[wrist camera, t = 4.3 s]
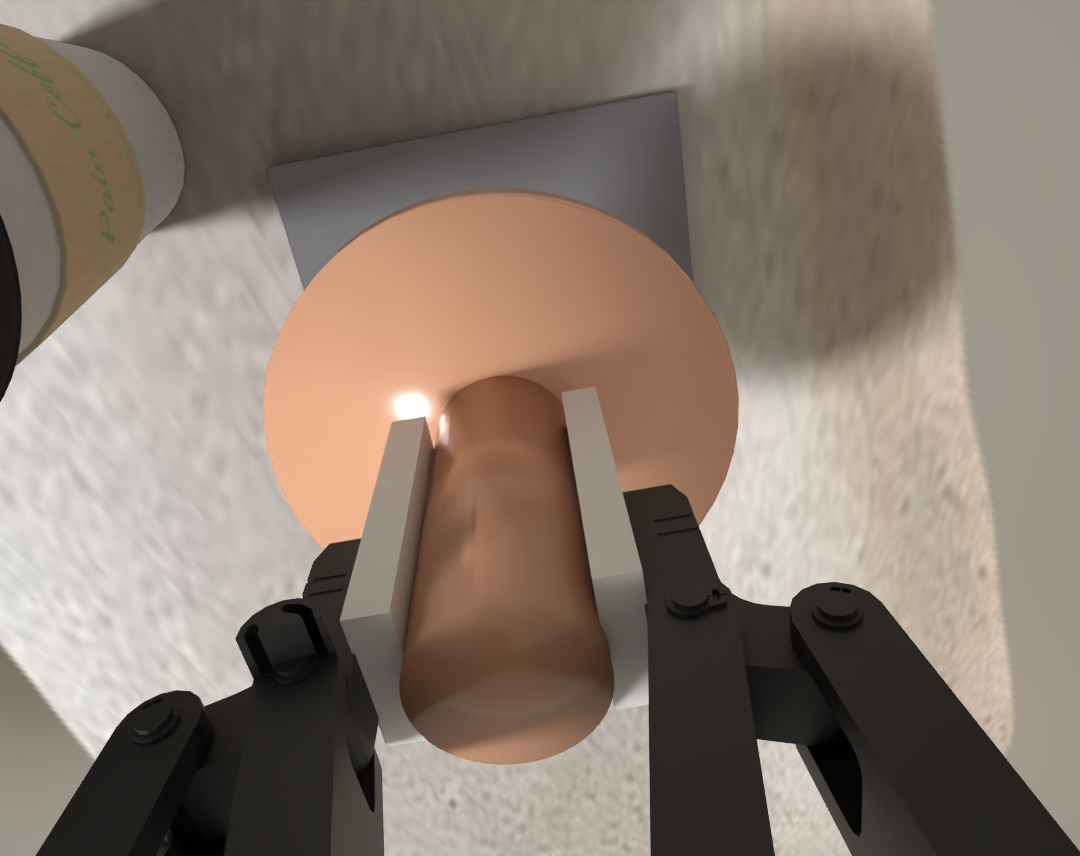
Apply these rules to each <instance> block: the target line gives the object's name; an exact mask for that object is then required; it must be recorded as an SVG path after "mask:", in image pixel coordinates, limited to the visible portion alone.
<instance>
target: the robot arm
mask: <svg viewBox="0 0 1080 856" xmlns="http://www.w3.org/2000/svg"><path fill="white" fill-rule="evenodd" d="M561 393H562V399H563V405H564V411H565V418H566V424H567V430H568V436H569V442H570V448H571V454H572V460H573V467H574V473H575V479H576V485H577V491H578V497H579V503H580V509H581V516H582V522H583V528H584V534H585V540H586V546H587V552H588V558H589V565H590V571H591V577H592V583H593V588H594V594H595V600H596V605H597V611H598V617H599V622H600V625H601V627H602V628H603V631H604V633H605V635H606V637H607V641H608V645H609V649H610V655H611V661H612V667H613V672H614V693H613V702H614V707H615V710H617V709H623V708H629V707H636V706H642V705H648V704H649V762H650V833H651V856H775V854H774V847H773V841H772V835H771V828H770V822H769V815H768V809H767V803H766V796H765V790H764V784H763V777H762V771H761V764H760V758H759V752H758V745H757V739H761V740H768V741H776V742H784V743H792V744H796V748H797V750H798V752H799V754H800V756H801V758H802V759H803V761H804V763H805V765H806V767H807V769H808V771H809V773H810V775H811V777H812V779H813V781H814V783H815V785H816V787H817V789H818V790H819V792H820V794H821V796H822V798H823V800H824V802H825V804H826V806H827V808H828V810H829V812H830V814H831V816H832V818H833V820H834V821H835V823H836V825H837V827H838V829H839V831H840V833H841V835H842V837H843V839H844V841H845V843H846V845H847V847H848V849H849V851H850V852H851V854H852V856H1080V851H1079V850H1078V849H1077V847H1076V846H1075V845H1074V844H1073V842H1072V841H1071V840H1070V839H1069V837H1068V836H1067V835H1066V834H1065V832H1064V831H1063V830H1062V829H1061V827H1060V826H1059V825H1058V824H1057V822H1056V821H1055V820H1054V819H1053V817H1052V816H1051V815H1050V814H1049V812H1048V811H1047V810H1046V809H1045V807H1044V806H1043V805H1042V803H1041V802H1040V801H1039V800H1038V798H1037V797H1036V796H1035V795H1034V794H1033V792H1032V791H1031V790H1030V789H1029V787H1028V786H1027V785H1026V783H1025V782H1024V781H1023V780H1022V778H1021V777H1020V776H1019V775H1018V773H1017V772H1016V771H1015V770H1014V769H1013V767H1012V766H1011V765H1010V763H1009V762H1008V761H1007V759H1006V758H1005V757H1004V756H1003V754H1002V753H1001V752H1000V751H999V749H998V748H997V747H996V746H995V744H994V743H993V742H992V741H991V739H990V738H989V737H988V736H987V734H986V733H985V732H984V731H983V729H982V728H981V727H980V726H979V724H978V723H977V722H976V720H975V719H974V718H973V717H972V715H971V714H970V713H969V712H968V710H967V709H966V708H965V707H964V705H963V704H962V703H961V702H960V700H959V699H958V698H957V697H956V695H955V694H954V693H953V692H952V690H951V689H950V688H949V687H948V685H947V684H946V683H945V681H944V680H943V679H942V678H941V676H940V675H939V674H938V673H937V671H936V670H935V669H934V668H933V666H932V665H931V664H930V663H929V661H928V660H927V659H926V658H925V656H924V655H923V654H922V653H921V651H920V650H919V649H918V648H917V646H916V645H915V644H914V643H913V641H912V640H911V639H910V637H909V636H908V635H907V634H906V632H905V631H904V630H903V629H902V627H901V626H900V625H899V624H898V622H897V621H896V620H895V619H894V617H893V616H892V615H891V614H890V612H889V611H888V610H887V609H886V607H885V606H884V605H883V604H882V602H881V601H879V600H878V599H877V598H876V597H875V596H874V595H872V594H871V593H870V592H869V591H866V590H864V589H861V588H859V587H857V586H854V585H850V584H844V583H837V582H830V583H819V584H815V585H812V586H810V587H807V588H805V589H802V590H801V591H800V592H799V593H798V594H797V595H796V596H795V597H794V598H793V599H792V602H791V606H790V607H785V606H771V605H763V604H756V603H752V602H749V601H746V600H743V599H741V598H739V597H737V596H735V595H733V594H732V593H731V591H730V589H729V588H728V587H726V586H725V585H724V584H722V583H721V581H720V579H719V577H718V575H717V572H716V570H715V567H714V564H713V562H712V559H711V557H710V554H709V552H708V549H707V546H706V544H705V541H704V539H703V536H702V534H701V531H700V530H699V526H698V523H697V521H696V518H695V517H694V513H693V510H692V508H691V505H690V503H689V500H688V498H687V496H686V495H684V494H683V493H682V492H680V491H679V490H678V489H676V488H675V487H674V486H673V485H671V484H668V485H662V486H656V487H650V488H644V489H639V490H633V491H627V492H622V489H621V485H620V481H619V477H618V473H617V469H616V465H615V461H614V457H613V454H612V450H611V446H610V442H609V438H608V434H607V430H606V426H605V422H604V419H603V415H602V411H601V407H600V403H599V399H598V395H597V391H596V387H589V388H583V389H578V390H572V391H566V392H561ZM433 454H434V447H433V443H432V440H431V436H430V432H429V428H428V425H427V421H426V417H425V416H423V417H417V418H411V419H406V420H400V421H394V422H392V423H391V427H390V431H389V435H388V439H387V442H386V446H385V450H384V454H383V458H382V461H381V465H380V469H379V473H378V477H377V480H376V484H375V488H374V492H373V496H372V500H371V503H370V507H369V511H368V515H367V519H366V522H365V526H364V530H363V534H362V538H360V539H354V540H348V541H342V542H336V543H330V544H329V545H328V546H327V547H326V548H325V549H324V550H323V552H322V553H321V554H320V555H319V556H318V557H317V558H316V559H315V561H314V562H313V565H312V568H311V571H310V574H309V577H308V583H307V584H306V586H305V589H304V592H303V594H302V595H303V598H302V599H300V598H297V599H289V600H283V601H280V602H277V603H275V604H272V605H270V606H267V607H265V608H264V609H262V610H261V611H259V612H257V613H256V614H254V615H253V616H251V617H250V619H249V620H248V621H247V622H246V623H245V624H244V625H243V626H242V627H241V628H240V630H239V632H238V635H237V637H236V641H237V644H238V646H239V648H240V650H241V652H242V654H243V657H244V659H245V661H246V663H247V665H248V668H249V670H250V672H251V674H252V676H253V678H254V680H253V685H252V686H251V687H249V688H247V689H245V690H243V691H241V692H239V693H237V694H234V695H232V696H230V697H227V698H225V699H222V700H220V701H217V702H215V703H212V704H210V705H207V706H205V707H204V705H203V703H202V702H201V700H200V698H199V697H198V696H197V695H195V694H194V693H192V692H190V691H178V690H176V691H172V692H168V693H163V694H160V695H158V696H156V697H153V698H151V699H149V700H147V701H145V702H143V703H142V704H140V705H139V706H138V707H137V708H135V709H134V710H133V711H131V712H130V713H129V714H127V716H126V717H125V718H124V719H123V720H122V721H121V723H120V724H119V725H118V726H117V727H116V729H115V730H114V732H113V734H112V735H111V737H110V738H109V740H108V742H107V743H106V745H105V746H104V748H103V750H102V751H101V753H100V754H99V756H98V757H97V759H96V761H95V762H94V764H93V765H92V767H91V769H90V770H89V772H88V773H87V775H86V777H85V778H84V780H83V781H82V783H81V784H80V786H79V788H78V789H77V791H76V793H75V794H74V796H73V797H72V799H71V801H70V802H69V804H68V805H67V807H66V809H65V810H64V812H63V813H62V815H61V816H60V818H59V820H58V821H57V823H56V824H55V826H54V828H53V829H52V831H51V832H50V834H49V836H48V837H47V839H46V840H45V842H44V844H43V845H42V846H41V848H40V850H39V852H38V853H37V854H36V856H384V832H383V796H382V769H381V765H380V762H379V758H378V756H377V753H376V751H375V748H374V745H375V739H376V733H377V727H378V725H379V727H380V730H381V733H382V735H383V738H384V741H385V743H386V746H390V745H396V744H403V743H409V742H415V741H421V740H426V739H425V738H424V737H423V736H422V735H421V734H420V733H419V732H418V731H417V730H416V729H415V728H414V727H413V725H412V724H411V722H410V721H409V719H408V718H407V716H406V714H405V712H404V709H403V707H402V703H401V699H400V692H399V682H400V674H401V667H402V660H403V654H404V647H405V640H406V634H407V627H408V620H409V614H410V607H411V600H412V594H413V587H414V581H415V574H416V567H417V561H418V554H419V547H420V541H421V534H422V527H423V521H424V514H425V507H426V501H427V494H428V487H429V481H430V474H431V467H432V461H433Z"/></svg>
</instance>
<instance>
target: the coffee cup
mask: <svg viewBox="0 0 1080 856" xmlns="http://www.w3.org/2000/svg"><path fill="white" fill-rule="evenodd" d="M184 175H185V164H184V157H183V149H182V146H181V143H180V140H179V137H178V134H177V131H176V128H175V126H174V124H173V122H172V120H171V118H170V116H169V114H168V112H167V111H166V109H165V108H164V106H163V105H162V103H161V102H160V100H159V99H158V97H157V96H156V94H155V93H154V92H153V91H152V90H151V89H150V88H149V86H148V85H147V84H146V83H145V82H144V81H143V80H142V79H141V78H140V77H139V76H138V75H137V74H136V73H134V72H133V71H132V70H131V69H129V68H128V67H127V66H126V65H124V64H123V63H122V62H120V61H118V60H116V59H114V58H112V57H111V56H109V55H107V54H105V53H103V52H99V51H96V50H92V49H89V48H85V47H82V46H77V45H72V44H68V43H63V42H58V41H53V40H49V39H44V38H39V37H34V36H32V35H30V34H28V33H26V32H24V31H22V30H20V29H17V28H14V27H10V26H7V25H3V24H0V402H1V400H2V398H3V397H4V395H5V392H6V390H7V388H8V385H9V383H10V381H11V378H12V375H13V372H14V368H15V366H16V365H18V364H19V363H20V362H21V361H22V360H23V359H25V358H26V357H27V356H28V355H29V354H30V353H31V352H32V351H33V350H35V349H36V348H37V347H38V346H39V345H40V344H41V343H42V342H43V341H44V340H46V339H47V338H48V337H49V336H50V335H51V334H52V333H53V332H54V331H55V330H56V329H57V328H58V327H59V326H60V325H61V324H62V323H63V322H64V321H66V320H67V319H68V318H69V317H70V316H71V315H72V314H73V313H74V312H75V311H76V310H77V309H78V308H79V307H80V306H81V305H82V304H83V303H85V302H86V301H87V300H88V299H89V298H90V297H91V296H92V295H93V294H94V293H95V292H96V291H97V290H98V289H99V288H100V287H101V286H102V285H104V284H105V283H106V282H107V281H108V280H109V279H110V278H111V277H112V276H113V275H114V274H115V273H116V272H117V271H118V270H119V269H120V268H121V267H122V266H123V265H124V264H125V262H126V261H127V260H128V258H129V257H130V255H131V254H132V252H133V251H134V249H135V248H136V246H137V244H138V243H139V242H141V241H142V240H143V239H144V238H145V237H146V236H147V235H148V234H149V233H150V232H151V231H152V230H153V229H154V228H155V227H156V226H158V225H159V224H160V223H161V222H162V221H163V220H164V219H165V218H166V217H167V216H168V215H169V213H170V212H171V211H172V209H173V208H174V206H175V205H176V203H177V202H178V200H179V197H180V194H181V191H182V189H183V186H184Z"/></svg>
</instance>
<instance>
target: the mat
mask: <svg viewBox="0 0 1080 856" xmlns="http://www.w3.org/2000/svg"><path fill="white" fill-rule="evenodd" d="M266 170H267V173H268V177H269V180H270V183H271V186H272V189H273V193H274V196H275V199H276V202H277V205H278V209H279V212H280V215H281V218H282V221H283V225H284V228H285V231H286V234H287V237H288V241H289V244H290V247H291V250H292V253H293V257H294V260H295V263H296V266H297V269H298V273H299V276H300V279H301V282H302V285H303V288H304V291H305V289H306V288H307V286H308V285H309V284H310V282H311V281H312V279H313V278H314V276H315V275H316V274H317V272H318V271H319V270H320V269H321V268H322V267H323V265H324V264H325V263H326V262H327V261H328V260H329V259H330V258H331V257H332V256H333V255H334V254H335V253H336V252H337V251H338V250H339V249H340V248H341V247H342V246H343V245H345V244H346V243H347V242H349V241H350V240H351V239H352V238H354V237H355V236H356V235H357V234H359V233H360V232H361V231H363V230H364V229H365V228H367V227H369V226H370V225H372V224H374V223H376V222H377V221H379V220H381V219H383V218H384V217H386V216H388V215H390V214H391V213H393V212H395V211H398V210H400V209H403V208H405V207H408V206H410V205H413V204H415V203H418V202H420V201H423V200H426V199H430V198H434V197H438V196H442V195H446V194H450V193H454V192H459V191H468V190H477V189H486V188H510V189H528V190H534V191H541V192H547V193H553V194H558V195H562V196H565V197H568V198H572V199H575V200H578V201H582V202H585V203H588V204H591V205H593V206H595V207H597V208H599V209H602V210H604V211H606V212H608V213H610V214H613V215H615V216H617V217H619V218H620V219H622V220H624V221H625V222H627V223H628V224H630V225H631V226H633V227H635V228H636V229H638V230H639V231H641V232H642V233H644V234H646V235H647V236H648V237H649V238H650V239H651V240H653V241H654V242H655V243H656V244H657V245H658V246H660V247H661V248H662V249H663V250H664V251H665V252H667V253H668V254H669V255H670V256H671V257H672V259H673V260H674V261H675V262H676V263H677V264H678V265H679V267H680V268H681V269H682V270H683V271H684V272H685V273H686V275H687V276H688V277H689V278H690V280H691V281H692V282H693V278H692V267H691V256H690V244H689V233H688V222H687V210H686V199H685V188H684V176H683V165H682V154H681V142H680V131H679V119H678V108H677V97H676V92H674V91H670V92H665V93H660V94H654V95H649V96H644V97H638V98H633V99H628V100H622V101H617V102H612V103H606V104H601V105H596V106H590V107H585V108H580V109H574V110H569V111H564V112H558V113H553V114H548V115H542V116H537V117H532V118H526V119H521V120H516V121H510V122H505V123H500V124H494V125H489V126H484V127H478V128H473V129H468V130H462V131H457V132H452V133H446V134H441V135H436V136H430V137H425V138H420V139H414V140H409V141H404V142H398V143H393V144H388V145H382V146H377V147H372V148H366V149H361V150H356V151H351V152H345V153H340V154H335V155H329V156H324V157H319V158H313V159H308V160H303V161H297V162H292V163H287V164H281V165H276V166H271V167H269V168H267V169H266Z"/></svg>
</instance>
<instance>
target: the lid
mask: <svg viewBox="0 0 1080 856" xmlns="http://www.w3.org/2000/svg"><path fill="white" fill-rule="evenodd" d="M589 387H596V391H597V395H598V399H599V403H600V407H601V411H602V415H603V419H604V422H605V426H606V430H607V434H608V438H609V442H610V446H611V450H612V454H613V457H614V461H615V465H616V469H617V473H618V477H619V481H620V485H621V489H622V492H627V491H633V490H639V489H644V488H650V487H656V486H662V485H668V484H671V485H673V486H674V487H675V488H676V489H678V490H679V491H680V492H682V493H683V494H684V495H686V496H687V498H688V500H689V503H690V505H691V508H692V510H693V513H694V517H695V518H696V521H697V523H698V526H699V525H700V524H701V522H702V521H703V519H704V517H705V516H706V514H707V513H708V511H709V510H710V508H711V506H712V505H713V503H714V502H715V500H716V497H717V495H718V493H719V491H720V489H721V487H722V485H723V482H724V480H725V478H726V475H727V472H728V469H729V466H730V462H731V459H732V456H733V453H734V447H735V441H736V435H737V429H738V399H739V398H738V390H737V383H736V375H735V369H734V365H733V362H732V358H731V355H730V351H729V348H728V344H727V342H726V339H725V337H724V335H723V333H722V331H721V328H720V326H719V324H718V322H717V320H716V317H715V315H714V314H713V312H712V311H711V309H710V308H709V306H708V305H707V303H706V301H705V300H704V298H703V297H702V295H701V294H700V292H699V291H698V289H697V288H696V287H695V285H694V284H693V282H692V281H691V280H690V278H689V277H688V276H687V275H686V273H685V272H684V271H683V270H682V269H681V268H680V267H679V265H678V264H677V263H676V262H675V261H674V260H673V259H672V257H671V256H670V255H669V254H668V253H667V252H665V251H664V250H663V249H662V248H661V247H660V246H658V245H657V244H656V243H655V242H654V241H653V240H651V239H650V238H649V237H648V236H647V235H646V234H644V233H642V232H641V231H639V230H638V229H636V228H635V227H633V226H631V225H630V224H628V223H627V222H625V221H624V220H622V219H620V218H619V217H617V216H615V215H613V214H610V213H608V212H606V211H604V210H602V209H599V208H597V207H595V206H593V205H591V204H588V203H585V202H582V201H578V200H575V199H572V198H568V197H565V196H562V195H558V194H553V193H547V192H541V191H534V190H528V189H510V188H486V189H477V190H468V191H459V192H454V193H450V194H446V195H442V196H438V197H434V198H430V199H426V200H423V201H420V202H418V203H415V204H413V205H410V206H408V207H405V208H403V209H400V210H398V211H395V212H393V213H391V214H390V215H388V216H386V217H384V218H383V219H381V220H379V221H377V222H376V223H374V224H372V225H370V226H369V227H367V228H365V229H364V230H363V231H361V232H360V233H359V234H357V235H356V236H355V237H354V238H352V239H351V240H350V241H349V242H347V243H346V244H345V245H343V246H342V247H341V248H340V249H339V250H338V251H337V252H336V253H335V254H334V255H333V256H332V257H331V258H330V259H329V260H328V261H327V262H326V263H325V264H324V265H323V267H322V268H321V269H320V270H319V271H318V272H317V274H316V275H315V276H314V278H313V279H312V281H311V282H310V284H309V285H308V286H307V288H306V289H305V291H304V292H303V293H302V295H301V296H300V298H299V299H298V301H297V302H296V303H295V305H294V306H293V308H292V309H291V311H290V313H289V315H288V317H287V319H286V321H285V323H284V325H283V327H282V329H281V331H280V333H279V335H278V337H277V340H276V343H275V346H274V349H273V352H272V355H271V358H270V362H269V365H268V371H267V377H266V383H265V389H264V428H265V435H266V442H267V449H268V453H269V456H270V460H271V463H272V466H273V470H274V473H275V476H276V478H277V481H278V483H279V485H280V487H281V489H282V492H283V494H284V496H285V498H286V500H287V502H288V504H289V505H290V507H291V508H292V510H293V512H294V513H295V515H296V516H297V518H298V520H299V521H300V523H301V524H302V525H303V527H304V528H305V529H306V530H307V531H308V533H309V534H310V535H311V536H312V537H313V539H314V540H315V541H316V542H317V544H318V545H319V546H320V547H321V548H322V549H325V548H326V547H327V546H328V545H329V544H330V543H336V542H342V541H348V540H354V539H360V538H362V534H363V530H364V526H365V522H366V519H367V515H368V511H369V507H370V503H371V500H372V496H373V492H374V488H375V484H376V480H377V477H378V473H379V469H380V465H381V461H382V458H383V454H384V450H385V446H386V442H387V439H388V435H389V431H390V427H391V423H392V422H394V421H400V420H406V419H411V418H417V417H423V416H425V417H426V421H427V425H428V428H429V432H430V436H431V440H432V443H433V447H434V454H433V461H432V467H431V474H430V481H429V487H428V494H427V501H426V507H425V514H424V521H423V527H422V534H421V541H420V547H419V554H418V561H417V567H416V574H415V581H414V587H413V594H412V600H411V607H410V614H409V620H408V627H407V634H406V640H405V647H404V654H403V660H402V667H401V674H400V682H399V692H400V699H401V703H402V707H403V709H404V712H405V714H406V716H407V718H408V719H409V721H410V722H411V724H412V725H413V727H414V728H415V729H416V730H417V731H418V732H419V733H420V734H421V735H422V736H423V737H424V738H425V739H426V740H428V741H429V742H430V743H432V744H433V745H435V746H436V747H438V748H440V749H442V750H444V751H446V752H447V753H449V754H452V755H455V756H457V757H460V758H463V759H467V760H470V761H474V762H480V763H486V764H499V765H502V764H521V763H528V762H533V761H538V760H542V759H545V758H548V757H551V756H554V755H556V754H559V753H561V752H563V751H565V750H567V749H569V748H571V747H573V746H575V745H576V744H577V743H579V742H580V741H582V740H583V739H585V738H586V737H587V736H588V735H589V734H590V733H591V732H592V731H593V730H594V729H595V728H596V727H597V726H598V725H599V724H600V722H601V721H602V719H603V718H604V716H605V715H606V713H607V711H608V709H609V707H610V704H611V701H612V697H613V693H614V672H613V667H612V661H611V655H610V649H609V645H608V641H607V637H606V635H605V633H604V631H603V628H602V627H601V625H600V622H599V617H598V611H597V605H596V600H595V594H594V588H593V583H592V577H591V571H590V565H589V558H588V552H587V546H586V540H585V534H584V528H583V522H582V516H581V509H580V503H579V497H578V491H577V485H576V479H575V473H574V467H573V460H572V454H571V448H570V442H569V436H568V430H567V424H566V418H565V411H564V405H563V399H562V393H561V392H566V391H572V390H578V389H583V388H589Z"/></svg>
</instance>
